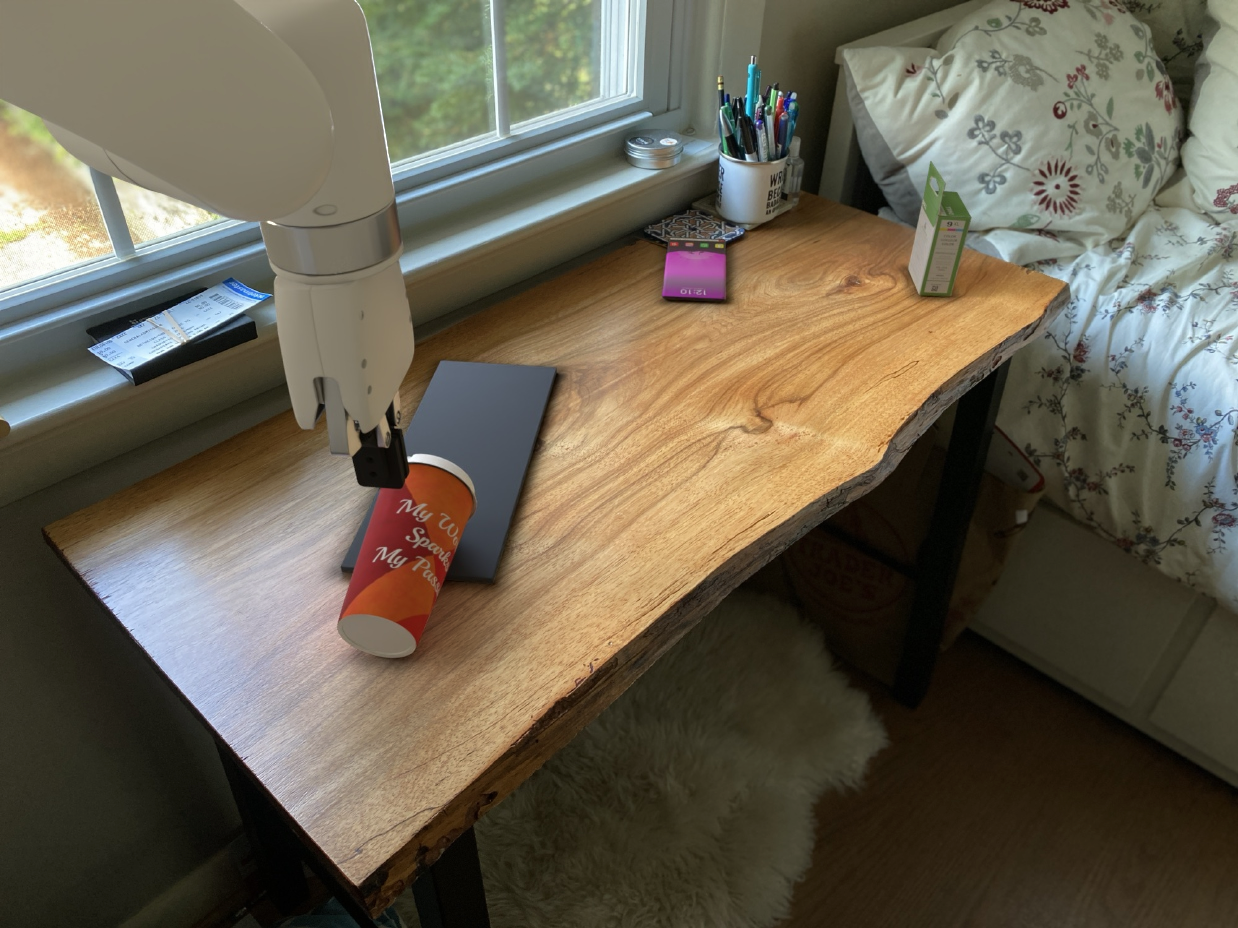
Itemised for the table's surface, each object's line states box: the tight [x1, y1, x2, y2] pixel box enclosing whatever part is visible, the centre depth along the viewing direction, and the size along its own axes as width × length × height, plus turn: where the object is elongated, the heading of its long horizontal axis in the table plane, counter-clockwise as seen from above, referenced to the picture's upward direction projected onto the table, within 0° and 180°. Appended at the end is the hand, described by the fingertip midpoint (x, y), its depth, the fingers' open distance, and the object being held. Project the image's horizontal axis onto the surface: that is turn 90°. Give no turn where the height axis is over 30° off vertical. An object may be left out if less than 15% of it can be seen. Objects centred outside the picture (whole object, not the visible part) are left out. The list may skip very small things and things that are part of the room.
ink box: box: [907, 160, 972, 298], centre depth 105 cm, size 7×4×13 cm, turn 177°
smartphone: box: [661, 236, 727, 303], centre depth 111 cm, size 7×15×1 cm, turn 175°
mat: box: [340, 360, 558, 585], centre depth 83 cm, size 30×12×1 cm, turn 174°
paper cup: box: [336, 454, 477, 659], centre depth 68 cm, size 8×8×14 cm
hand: (384, 480), depth 64 cm, fingers closed
